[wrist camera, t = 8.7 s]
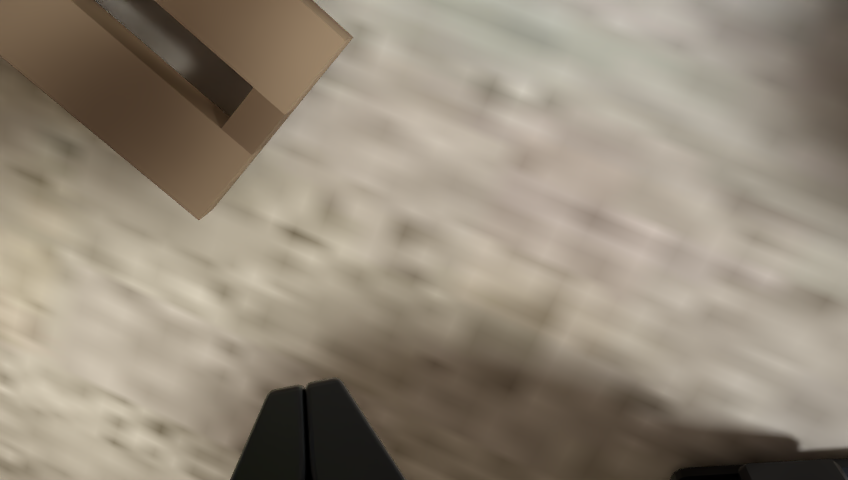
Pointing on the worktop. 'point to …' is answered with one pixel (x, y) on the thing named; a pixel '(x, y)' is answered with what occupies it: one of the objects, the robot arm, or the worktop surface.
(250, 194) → the worktop surface
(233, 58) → the slotted wooden board
